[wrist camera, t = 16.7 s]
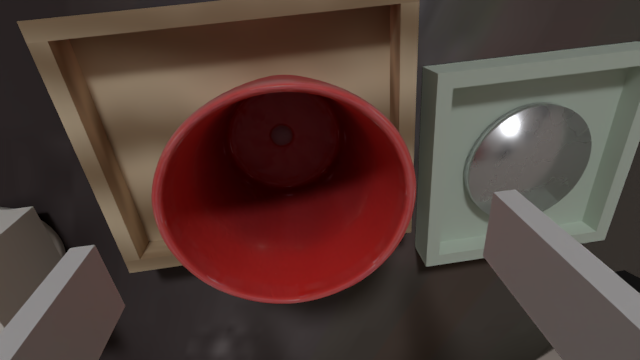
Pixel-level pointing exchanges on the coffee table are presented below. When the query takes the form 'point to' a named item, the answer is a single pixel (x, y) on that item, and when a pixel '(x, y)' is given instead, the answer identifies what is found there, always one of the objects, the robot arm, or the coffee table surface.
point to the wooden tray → (205, 82)
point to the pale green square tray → (502, 96)
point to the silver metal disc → (529, 155)
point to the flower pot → (284, 190)
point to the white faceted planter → (24, 257)
